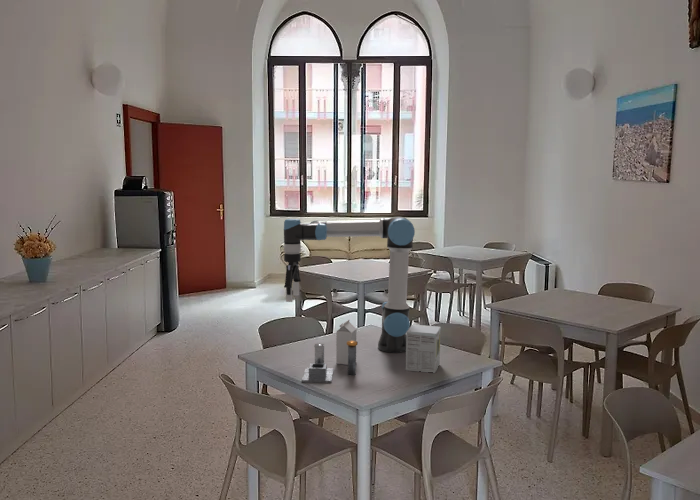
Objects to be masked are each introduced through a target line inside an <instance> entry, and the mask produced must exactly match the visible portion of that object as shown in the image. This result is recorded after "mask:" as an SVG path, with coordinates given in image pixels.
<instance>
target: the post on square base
mask: <svg viewBox="0 0 700 500" xmlns="http://www.w3.org/2000/svg"><path fill="white" fill-rule="evenodd" d="M333 375H334V367H331V368H330V367H328V363H327V362H326V363H325V343H321V342H319V343H318V342H317V343H314V362H310V363H309V367H305V370H304V372H303V376H302V378H301V383H307V384H308V383H311V384H312V383H314V384H317V383H318V384H332V381H333Z"/></svg>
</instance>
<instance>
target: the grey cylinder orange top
mask: <svg viewBox="0 0 700 500" xmlns="http://www.w3.org/2000/svg"><path fill="white" fill-rule="evenodd" d="M347 345H348V365H347V375H348V376H356V374H357V346H358V341H357V340H356V341H347Z"/></svg>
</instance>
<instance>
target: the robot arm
mask: <svg viewBox="0 0 700 500" xmlns="http://www.w3.org/2000/svg"><path fill="white" fill-rule="evenodd" d="M415 232H416V231H415V227H414V224H413V223H412V221H410V220H409V219H407V217H404V216H393V217H392V216H391V217H381V218H380V219H378V220H371V219H370V220H313V221H311V222H310V223H302V222H301V219H299V218H287V219H285V220H284V221H283V244H284V245H282V248H283V252H284V253H283V261H284V262H285V263H288V264H287V265H286V268H285V269H286V270H285V271H286V272H285V279H284V286H283V287H284V288H285V300H286V301H285V302H286V303H287V302H288V303H293V297H295V296H296V297H299V296H300V282H301V281H302V280H301V274H300V270H299V269H300V268H299V262H301V261H302V260H301V259H302V258H301V257H302V256H301V255H302V254H301V252H302V251H301V248H302V245H301V242H302V241H306V240H307V241H325V240H327V238H328V237H329V238H331V237H332V238H335V237H338V238H339V237H340V238H341V237H342V238H343V237H345V238H346V237H349V238H350V237H380V238H381V239H387V242H386V248H387V249H388V250H389V267H388V271H389V272H388V288H387V289H388V291H387V292H388V293H387V301H385V302H382V305H381V334H380V336H379V340H378V342H377V349H378V350H379V351H381V352H382V351H383V352H385V353H405V352H406V332H407V330H408V329H409V328H410V327H411V322H410V305H409V304H408V303H407V299H408V297H407V296H408V295H407V294H408V280H409V275H408V274H409V258H410V251H411V250H412V249H413V246H414V245H413V244H414V237H415Z"/></svg>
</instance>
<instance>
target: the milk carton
mask: <svg viewBox="0 0 700 500" xmlns="http://www.w3.org/2000/svg"><path fill="white" fill-rule="evenodd" d="M335 339H336V341H335V343H336V344H335V345H336V349H335V351H336V353H335V354H336V358H335V359H336V364H337V365H346V366H348V345H347V341H357V328H356V327H355V326H354V325H353V324H352V323H351V321H350V319H347V320H346V321H344V322H343V323H341V324H339V329H338V330H336V338H335Z"/></svg>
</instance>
